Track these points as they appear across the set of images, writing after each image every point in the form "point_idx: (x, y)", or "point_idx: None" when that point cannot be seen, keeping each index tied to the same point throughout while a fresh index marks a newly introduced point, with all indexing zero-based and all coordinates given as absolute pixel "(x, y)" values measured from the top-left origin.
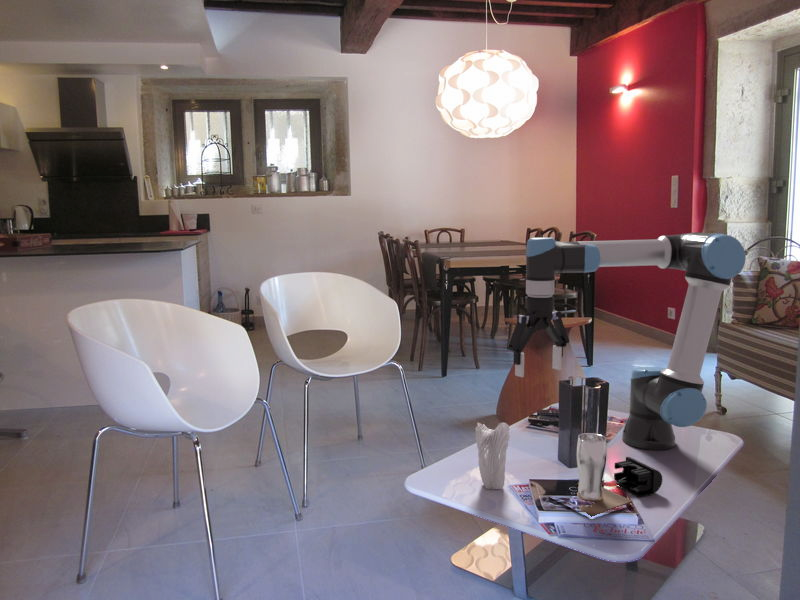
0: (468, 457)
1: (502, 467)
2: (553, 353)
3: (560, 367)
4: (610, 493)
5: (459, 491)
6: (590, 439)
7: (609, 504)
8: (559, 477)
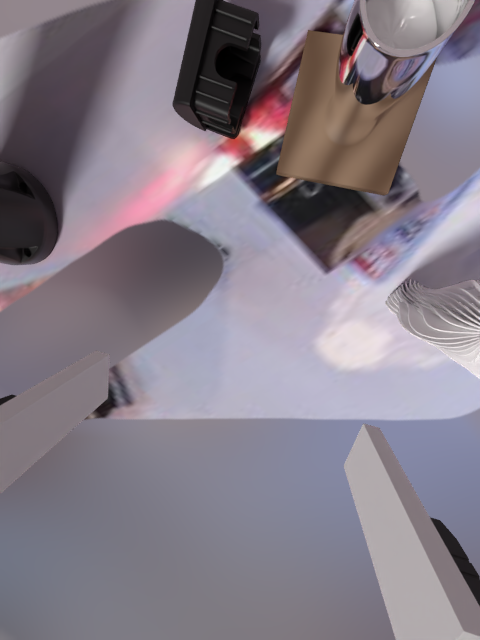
0: (314, 401)
1: (421, 291)
2: (30, 459)
3: (91, 358)
4: (304, 94)
5: None
6: (360, 52)
7: None
8: (281, 237)
